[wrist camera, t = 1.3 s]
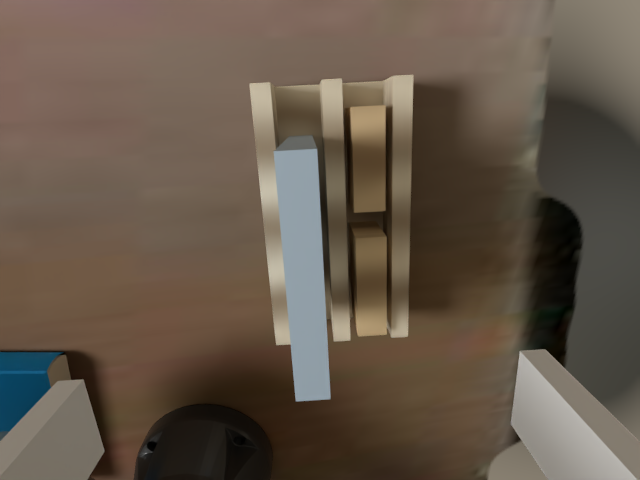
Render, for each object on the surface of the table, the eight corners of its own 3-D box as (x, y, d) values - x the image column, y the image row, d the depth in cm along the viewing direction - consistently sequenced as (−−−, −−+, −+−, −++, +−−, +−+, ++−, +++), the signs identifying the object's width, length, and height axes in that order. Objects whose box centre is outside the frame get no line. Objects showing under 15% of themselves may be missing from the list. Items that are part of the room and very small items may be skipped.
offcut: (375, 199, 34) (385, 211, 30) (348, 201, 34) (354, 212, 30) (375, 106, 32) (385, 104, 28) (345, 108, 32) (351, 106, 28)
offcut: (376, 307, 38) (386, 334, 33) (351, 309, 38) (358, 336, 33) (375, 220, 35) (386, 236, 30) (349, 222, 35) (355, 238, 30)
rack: (394, 307, 40) (407, 336, 34) (280, 315, 39) (276, 345, 34) (396, 81, 33) (413, 74, 28) (258, 89, 33) (249, 83, 27)
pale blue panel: (320, 283, 37) (330, 399, 22) (300, 284, 37) (295, 401, 22) (312, 134, 33) (317, 148, 17) (289, 136, 33) (273, 151, 17)
